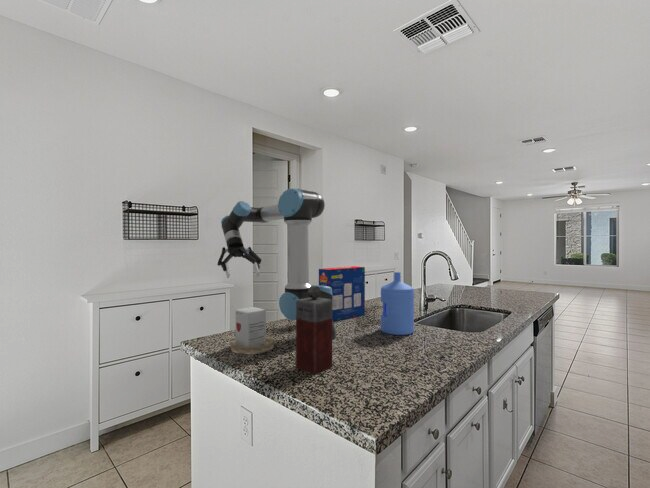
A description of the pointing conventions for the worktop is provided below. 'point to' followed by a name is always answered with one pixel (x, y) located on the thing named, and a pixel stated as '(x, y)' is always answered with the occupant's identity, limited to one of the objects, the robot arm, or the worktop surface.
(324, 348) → the red square bottle
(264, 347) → the tan plate
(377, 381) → the worktop surface
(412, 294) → the water jug
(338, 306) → the blue toy box
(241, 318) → the supplement box
